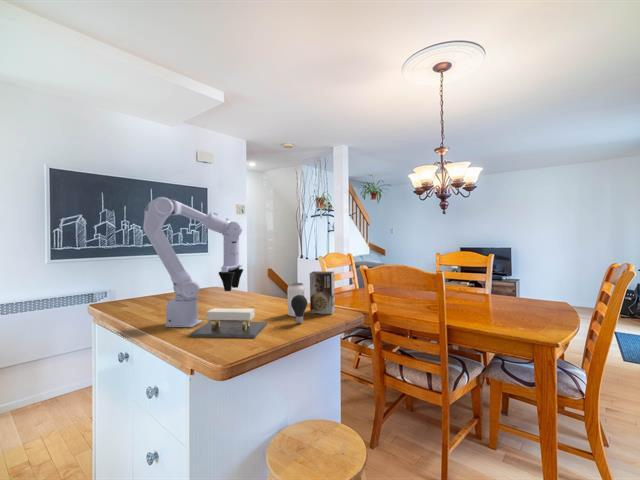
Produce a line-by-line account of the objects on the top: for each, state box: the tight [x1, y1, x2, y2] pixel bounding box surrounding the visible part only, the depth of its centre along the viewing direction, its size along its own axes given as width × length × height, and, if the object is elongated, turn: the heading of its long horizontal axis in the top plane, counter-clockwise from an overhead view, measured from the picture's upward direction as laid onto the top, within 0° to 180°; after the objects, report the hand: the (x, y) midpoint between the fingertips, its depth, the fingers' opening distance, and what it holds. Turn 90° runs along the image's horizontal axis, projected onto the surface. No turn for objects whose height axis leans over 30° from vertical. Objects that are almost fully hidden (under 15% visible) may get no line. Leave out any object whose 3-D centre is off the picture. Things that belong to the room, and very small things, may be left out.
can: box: [286, 282, 305, 318], centre depth 118 cm, size 6×6×12 cm
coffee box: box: [309, 270, 336, 315], centre depth 122 cm, size 9×6×16 cm
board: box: [206, 307, 256, 321], centre depth 98 cm, size 14×5×2 cm, turn 86°
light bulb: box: [291, 295, 308, 325], centre depth 105 cm, size 6×6×10 cm
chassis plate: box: [189, 320, 268, 339], centre depth 98 cm, size 20×14×4 cm
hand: (231, 289), depth 115 cm, fingers open, 7 cm apart
